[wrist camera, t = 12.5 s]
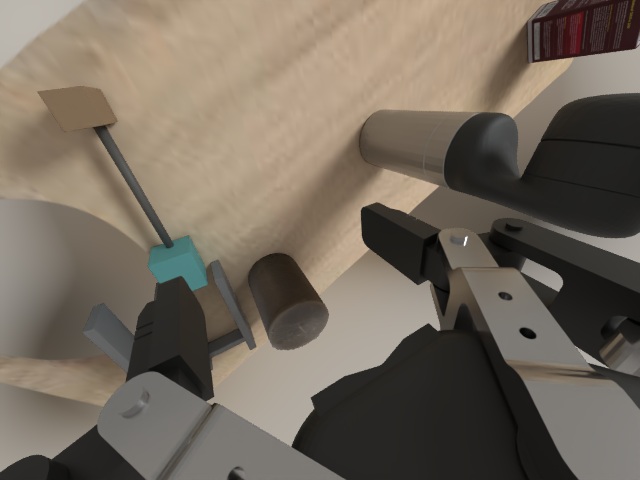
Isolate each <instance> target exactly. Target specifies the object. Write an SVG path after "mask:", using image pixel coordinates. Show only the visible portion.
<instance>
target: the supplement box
mask: <svg viewBox="0 0 640 480" xmlns="http://www.w3.org/2000/svg"><path fill="white" fill-rule="evenodd" d="M527 24H528V62H529V63H534V62H542V61H549V60H557V59H564V58H572V57H579V56H587V55H594V54H601V53H609V52H616V51H624V50H632V49H636V48H637V47H638V46H639V45H640V0H557V1H554V2H550V3H547V4H543V5H542V6H541V7H540V9H539V10H538V11H537V12H536V13H535V14H534V15H533V16H532V17H531V18H530V19H529V21H528V22H527Z"/></svg>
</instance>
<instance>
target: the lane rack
mask: <svg viewBox="0 0 640 480" xmlns="http://www.w3.org/2000/svg"><path fill="white" fill-rule="evenodd" d="M211 267H212V272H213V277H214V281H215V283H216V285H217V287H218V289H219V291H220V293H221V295H222V296H223V298H224V300H225V302H226V304H227V306H228V308H229V310H230V312H231V314H232V316H233V318H234V320H235V322H236V323H237V325H238V327H239V329H238V330H236V331H233V332H231V333H229V334H227V335H225V336H223V337H221V338H219V339H217V340H215V341H213V342H210V343H208V349H209V357H210V366H211V370H213V366H212V357H214V356H216V355H218V354H220V353H222V352H224V351H226V350H228V349H230V348H232V347H234V346H236V345H238V344H240V343H242V342H244V341H246V343H247V345H248V347H249V349H250V350H252V349H254V348H255V347H256V344H255V341H254V338H253V334H252V331H251V328H250V326H249V324H248V322H247V320H246V318H245V315H244V313H243V311H242V309H241V307H240V305H239V303H238V301H237V299H236V296H235V294H234V292H233V290H232V288H231V286H230V284H229V282H228V280H227V278H226V275H225V273H224V271H223V269H222V267H221V265H220V263H219V261H218V260H217V261H214V262H212V263H211ZM158 284H159V282H158V283H156V289H155V297H154V300H156V297H157V289H158ZM83 334H84V335H85V336H86V337H87V338H88V339H90V340H91V341H92V342H93V343H94V344H95V345H96V346H98V347H99V348H100V349H101V350H102V351H103V352H104V353H105V354H106V355H108V356H109V357H110V358H111V359H112V360H113V361H114V362H115V363H117V364H118V365H119V366H120V367H121V368H122V369H123V370H124V371H125V372H127V373H128V367H129V362H130V357H131V352H132V347H133V342H135V340H134V337H135V336H134V335H133V334H132V333H131V332H130V331H129V330H128V329H127V328H126V327H125V326H124V325H123V324H122V322H120V320H119V319H118V318H117V317H116V316H115V315H114V314H113V313H112V312H111V311H110V310H109V309H108V308H107V306H106V305H105V304H104V303H102V304H100V305H97V306H94V307H93V309H92V312H91V314H90V316H89V319H88V321H87V323H86V326H85V328H84V330H83Z"/></svg>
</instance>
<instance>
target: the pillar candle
mask: <svg viewBox="0 0 640 480" xmlns="http://www.w3.org/2000/svg"><path fill="white" fill-rule="evenodd" d="M248 282H249V286H250V288H251V291H252V294H253V297H254V299H255V302H256V305H257V308H258V310H259V313H260V316H261V319H262V321H263V324H264V327H265V330H266V332H267V335H268V338H269V340H270V343H271V344H272V346H273V347H274V348H276V349H278V350H279V349H280V350H290V349H295V348H299V347H301V346H303V345H306V344H307V343H309V342H310V341H312V340H314V339H316V338H317V337H318V336H319V334H320V333H321V332H322V330H323V329H324V327H325V326H326V323H327V321H328V316H329V313H328V309H327V308H326V306H325V304H324V303H323V301H322V300H321V298H320V297H319V295H318V294H317V292H316V291H315V289H314V288H313V287H312V285H311V284H310V282H309V281H308V279H307V278H306V276H305V275H304V273H303V272H302V271H301V269H300V268H299V266H298V265H297V263H296V262H295V261H294V260H293V259H292V258H291V257H290V256H288V255H286V254H282V253H281V254H280V253H279V254H278V253H275V254H270V255H267V256H265V257H263V258H261V259H260V260H259V261H257V262H256V263H255V264H254V266H253V267H252V269H251V270H250V273H249V276H248Z"/></svg>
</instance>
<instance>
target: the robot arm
mask: <svg viewBox="0 0 640 480" xmlns="http://www.w3.org/2000/svg"><path fill="white" fill-rule="evenodd" d="M517 146H518V131H517V126H516V124H515V122H514V120H513V119H512V118H511V117H510V116H508V115H506V114H503V113H487V112H443V111H407V110H380V111H378V112H376V113H374V114H373V115H372V116H370V118H369V119H368V120H367V121H366V123H365V125H364V127H363V129H362V132H361V137H360V150H361V153H362V156H363V157H364V159H365V160H366V161H367V162H368V163H370V164H372V165H376V166H379V167H382V168H385V169H388V170H391V171H394V172H398V173H401V174H404V175H407V176H410V177H414V178H417V179H420V180H423V181H426V182H430V183H433V184H436V185H439V186H443V187H446V188H449V189H452V190H455V191H459V192H463V193H466V194H469V195H472V196H476V197H479V198H482V199H485V200H488V201H491V202H494V203H497V204H500V205H503V206H505V207H508V208H511V209H513V210H516V211H519V212H521V213H524V214H526V215H529V216H532V217H534V218H537V219H540V220H542V221H545V222H548V223H551V224H553V225H556V226H559V227H562V228H565V229H568V230H572V231H576V232H579V233H583V234H587V235H592V236H597V237H604V238H626V237H630V236H634V235H636V234H637V233H639V232H640V93H625V94H611V95H600V96H593V97H587V98H583V99H579V100H575V101H573V102H570V103H568V104H566V105H565V106H563V107H562V108H561V109H560V110H559V111H558V112H557V114H556V115H555V116H554V118H553V119H552V121H551V123H550V124H549V126H548V128H547V130H546V132H545V133H544V135H543V137H542V139H541V142H540V143H539V144H538V146H537V148H536V150H535V152H534V154H533V156H532V158H531V160H530V162H529V164H528V165H527V167H526V169H525V171H524V174H523V175H522V177H521V176H520V173H519V170H518V166H517ZM361 227H362V238H363V241H364V243H365V245H366V246H367V247H368V248H370V249H371V250H372V251H373V252H375V253H376V254H377V255H379V256H380V257H382V258H383V259H384V260H385V261H387V262H388V263H389V264H391V265H392V266H393V267H395V268H396V269H397V270H399V271H400V272H401V273H402V274H404V275H405V276H406V277H408V278H409V279H410V280H412V281H413V282H414V283H416V284H417V285H419V284H421V283H423V282H425V281H427V280H429V281H430V282H431V284H430V290H431V293H432V297H433V301H434V304H435V308H436V311H437V315H438V319H439V322H440V331H437V330H436V329H434V328H433V327H432V326H431V325H430V324H427V325H425V326H423V327H422V328H420V329H419V330H417V331H415V332H414V333H412V334H411V335H409V336H407V337H406V338H404V339H403V340H402V341H401V343H400V344H399V345H398V346H397V347H396V349H395V350H394V351H393V352H392V353H391V355H390V356H389V357H388V358H387V359H386V361H385V362H384V363H383V364H382V365H380V366H377V367H374V368H371V369H368V370H364V371H361V372H358V373H354V374H351V375H348V376H344V377H343V378H341V379H339V380H338V381H336V382H335V383H333V384H331V385H330V386H328V387H327V388H325V389H324V390H322V391H320V392H319V393H317V394H316V395H314V396H313V397H311V400H312V402H313V406H314V410H313V411H312V412H311V413H310V415H309V416H308V417H307V419H306V420H305V422H304V423H303V424H302V426H301V428H300V429H299V431H298V433H297V435H296V437H295V439H294V441H293V444H292V446H291V447H290V446H289V445H287V444H285V443H284V442H282V441H280V440H279V439H277V438H275V437H274V436H272V435H270V434H269V433H267V432H265V431H263V430H262V429H260V428H259V427H257V426H255V425H254V424H252V423H250V422H248V421H247V420H245V419H243V418H242V417H240V416H238V415H237V414H235V413H234V412H232V411H230V410H229V409H227V408H225V407H224V406H221V405H220V404H217V403H214V404H213V405H211V404H209V403H207V402H206V401H207V400H209V399H211V398H213V397H214V393H213V383H212V375H211V366H210V357H209V349H208V340H207V332H206V323H205V317H204V313H203V310H202V308H201V305H200V304H199V302H198V300H197V299H196V297H195V295H194V294H193V292H192V290H191V289H190V287H189V285H188V284H187V282H186V281H185V279H184V278H183V277H182V276H179V277H176V278H173V279H171V280H168V281H165V282H163V283H160V284H158V289H157V297H156V300H154V301H152V302H149V303H147V304H146V306H145V308H144V309H143V310H142V312H141V313H140V315H139V316H138V321H137V326H136V330H137V331H136V332H135V337H134V340H135V342H133V347H132V352H131V357H130V362H129V367H128V373H127V378H126V383H125V384H123V385H122V386H121V387H120V388H119V389H118V390H117V391H116V392H115V393H114V394H113V395H112V396H111V397H110V399H109V400H108V401H107V403H106V404H105V406H104V407H103V409H102V411H101V413H100V416H99V419H98V424H97V425H96V426H94V427H93V428H92V429H91V430H90V431H88V432H87V433H86V434H84V435H83V436H82V437H80V438H79V439H78V440H76V441H75V442H74V443H73V444H71V445H70V446H69V447H67V448H66V449H65V450H63V451H62V452H61V453H60V454H59V455H57V456H56V457H54V458H53V459H49V458H47V457H45V456H42V455H32V456H29V457H26V458H23V459H21V460H19V461H17V462H15V463H14V464H12V465H10V466H9V467H7V468H6V469H5V470H3V471H2V472H0V480H640V263H638V262H635V261H633V260H630V259H627V258H624V257H622V256H619V255H616V254H614V253H611V252H608V251H605V250H603V249H600V248H597V247H595V246H592V245H589V244H586V243H584V242H581V241H578V240H575V239H573V238H570V237H567V236H565V235H562V234H559V233H556V232H554V231H551V230H548V229H546V228H543V227H540V226H537V225H535V224H532V223H529V222H527V221H523V220H520V219H514V218H502V219H498V220H495V221H494V222H493V224H492V227H491V230H490V232H488V233H482V234H475V233H473V232H472V231H469V230H466V229H462V228H448V229H445V230H442V231H441V230H439V229H437V228H435V227H433V226H431V225H429V224H427V223H425V222H423V221H420V220H418V219H417V220H416V218H414V217H412V216H409V215H408V214H406V213H404V212H402V211H400V210H395V209H390V208H388V207H386V206H384V205H382V204H380V203H377V202H376V203H373V204H371V205H368V206H365V207H363V208H362V209H361ZM526 258H528V259H530V260H532V261H534V262H536V263H538V264H540V265H543V266H545V267H546V268H549V269H551V270H553V271H555V272H556V273H558V274H559V275H560V276H561V277H562V279H563V286H562V288H561V289H560V291H559V292H558V291H556V290H554V289H552V288H550V287H548V286H546V285H544V284H542V283H541V282H539V281H537V280H535V279H533V278H531V277H529V276H527V275H525V274H524V273H522V272H521V269H522V267H523V265H524V263H525V260H526ZM574 345H575V346H576V347H578V348H579V349H581V350H582V351H584V352H586V353H588V354H589V355H590V356H592V357H593V358H595V359H596V360H598V361H599V362H601V363H602V364H604V365H606V366H607V367H609V369H608V368H605V367H601V366H597V365H594V364H590V363H587V362H586V360H585V359H584V358H583V356H582V355H581V354H580V352H579V351H578V350H577V348H576V347H575V346H574Z"/></svg>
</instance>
